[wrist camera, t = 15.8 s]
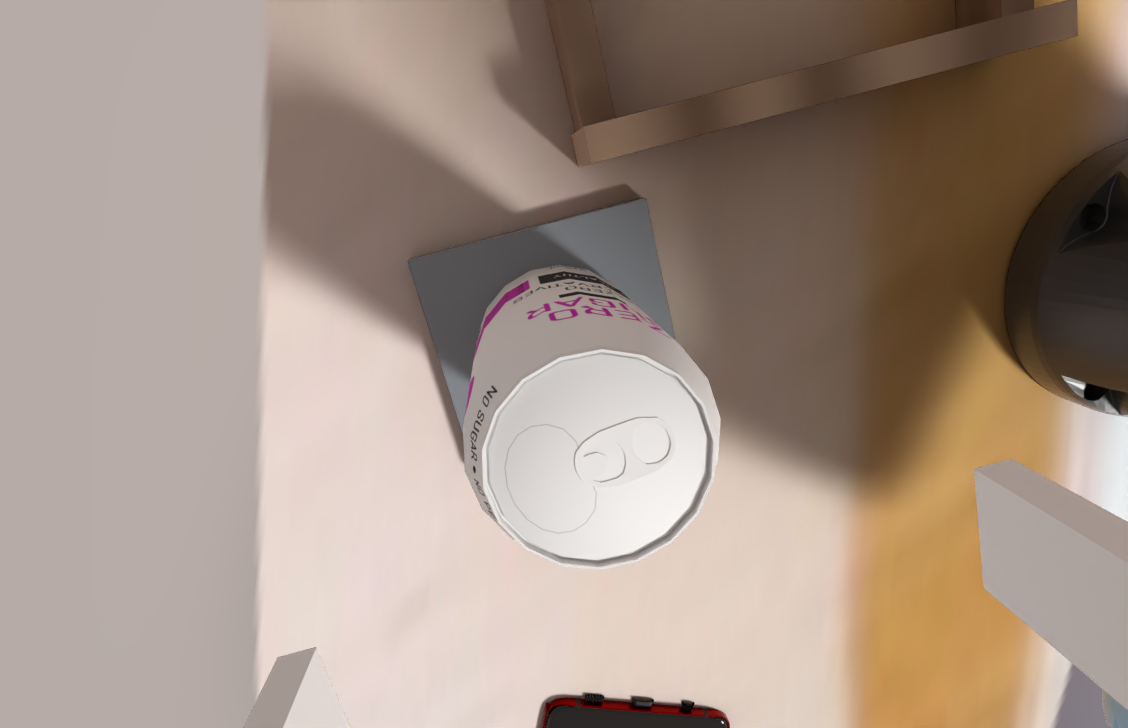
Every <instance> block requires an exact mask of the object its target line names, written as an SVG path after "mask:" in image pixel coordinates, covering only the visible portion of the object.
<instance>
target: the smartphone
mask: <svg viewBox="0 0 1128 728" xmlns="http://www.w3.org/2000/svg"><path fill="white" fill-rule="evenodd" d="M632 698H633V697H632ZM585 699H586V700H587V702H586V700H585ZM585 699H582V698H567V697H566V698H558V699H555V700H553V701H551V702H550V703H549V704H548V703H546V708H545V710H544V715H543V720H542V725H541V728H730V724H729V721H728V718H727V716H726V715H725V714H724V713H723V712H722V711H719V710H715V709H707V708H695V707H692V706H694V702H693V704H692V706H687V705H685V704H684V703H683V701H682V707H681V706H670V705H657V704H652V703H653V702H654V700H653V699H652V702H641V701H635V700H634V699H633V701H632V702H620V701H607V700H603V699H604V696H603V698H601V695H600V698H598V695H597V698H596V697H595V695H594V698H593V697H592V694H591V697H589V694H588V697H586V695H585ZM588 699H589V700H588ZM600 700H601V701H600ZM589 701H590V702H589ZM592 701H593V702H592ZM595 701H596V703H595ZM598 701H599V703H598ZM601 702H602V703H601ZM547 714H548V716H547ZM546 718H547V720H546ZM725 720H726V722H725ZM545 723H546V725H545Z"/></svg>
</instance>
